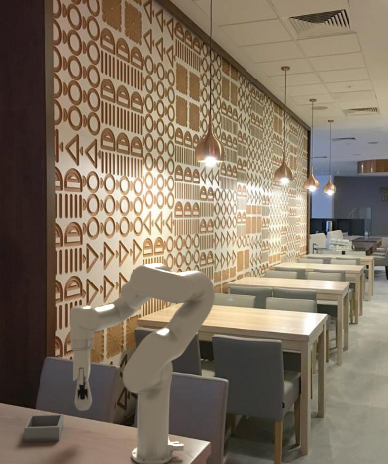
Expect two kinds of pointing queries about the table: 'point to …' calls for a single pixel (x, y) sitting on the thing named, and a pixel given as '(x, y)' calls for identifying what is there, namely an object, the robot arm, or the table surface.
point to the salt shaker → (85, 403)
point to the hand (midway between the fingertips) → (83, 398)
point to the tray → (43, 428)
